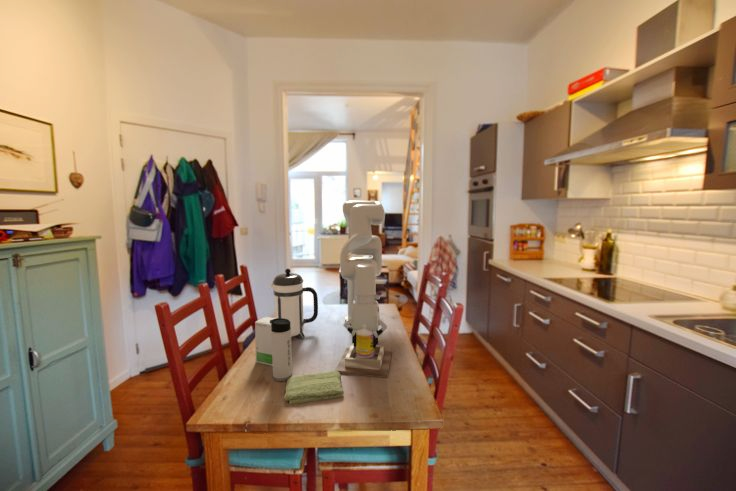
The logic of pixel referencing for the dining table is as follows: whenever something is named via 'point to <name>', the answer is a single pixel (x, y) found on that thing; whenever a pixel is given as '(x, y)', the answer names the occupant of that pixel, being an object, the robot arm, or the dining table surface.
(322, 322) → the dining table surface
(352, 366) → the collar dock
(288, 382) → the washcloth
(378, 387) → the dining table surface
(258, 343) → the skincare box
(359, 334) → the supplement bottle
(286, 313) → the coffee press
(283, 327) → the travel mug
